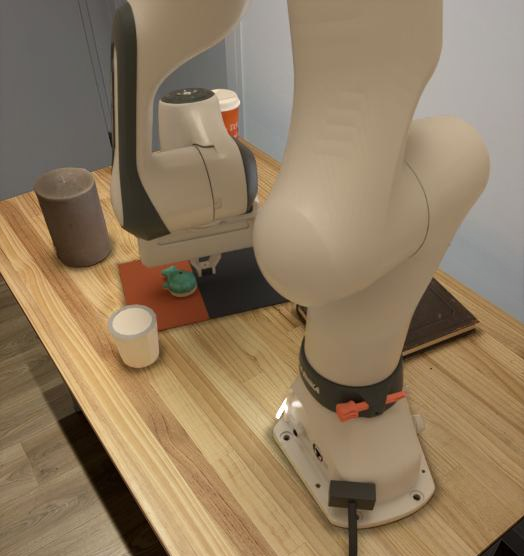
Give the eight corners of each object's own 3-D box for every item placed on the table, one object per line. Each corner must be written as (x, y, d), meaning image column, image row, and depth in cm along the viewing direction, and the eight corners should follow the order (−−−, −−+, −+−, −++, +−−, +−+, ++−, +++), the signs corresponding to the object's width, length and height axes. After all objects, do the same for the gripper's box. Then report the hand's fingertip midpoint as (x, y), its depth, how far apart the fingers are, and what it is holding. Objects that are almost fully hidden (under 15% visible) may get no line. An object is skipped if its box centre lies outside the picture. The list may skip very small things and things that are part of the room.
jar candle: (122, 376, 80) (112, 344, 75) (113, 344, 84) (102, 311, 79) (168, 363, 81) (162, 330, 76) (156, 332, 86) (149, 298, 80)
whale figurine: (174, 305, 89) (171, 287, 87) (153, 280, 93) (149, 263, 91) (205, 291, 92) (203, 273, 89) (183, 268, 96) (181, 250, 93)
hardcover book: (475, 331, 85) (479, 320, 84) (347, 381, 79) (349, 371, 77) (414, 271, 95) (416, 260, 93) (295, 311, 89) (296, 301, 87)
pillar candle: (46, 260, 97) (17, 185, 86) (77, 229, 103) (54, 155, 92) (93, 273, 95) (70, 197, 84) (122, 240, 101) (104, 165, 90)
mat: (304, 297, 91) (304, 297, 91) (134, 336, 85) (133, 335, 85) (269, 234, 102) (269, 233, 102) (117, 265, 97) (117, 264, 96)
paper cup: (222, 174, 116) (217, 108, 106) (199, 160, 120) (193, 95, 109) (249, 161, 120) (248, 96, 109) (227, 148, 123) (223, 84, 113)
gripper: (132, 226, 78) (147, 298, 88) (269, 200, 82) (269, 272, 92) (125, 202, 82) (140, 274, 92) (256, 178, 86) (257, 249, 96)
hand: (206, 273), depth 92 cm, fingers closed
